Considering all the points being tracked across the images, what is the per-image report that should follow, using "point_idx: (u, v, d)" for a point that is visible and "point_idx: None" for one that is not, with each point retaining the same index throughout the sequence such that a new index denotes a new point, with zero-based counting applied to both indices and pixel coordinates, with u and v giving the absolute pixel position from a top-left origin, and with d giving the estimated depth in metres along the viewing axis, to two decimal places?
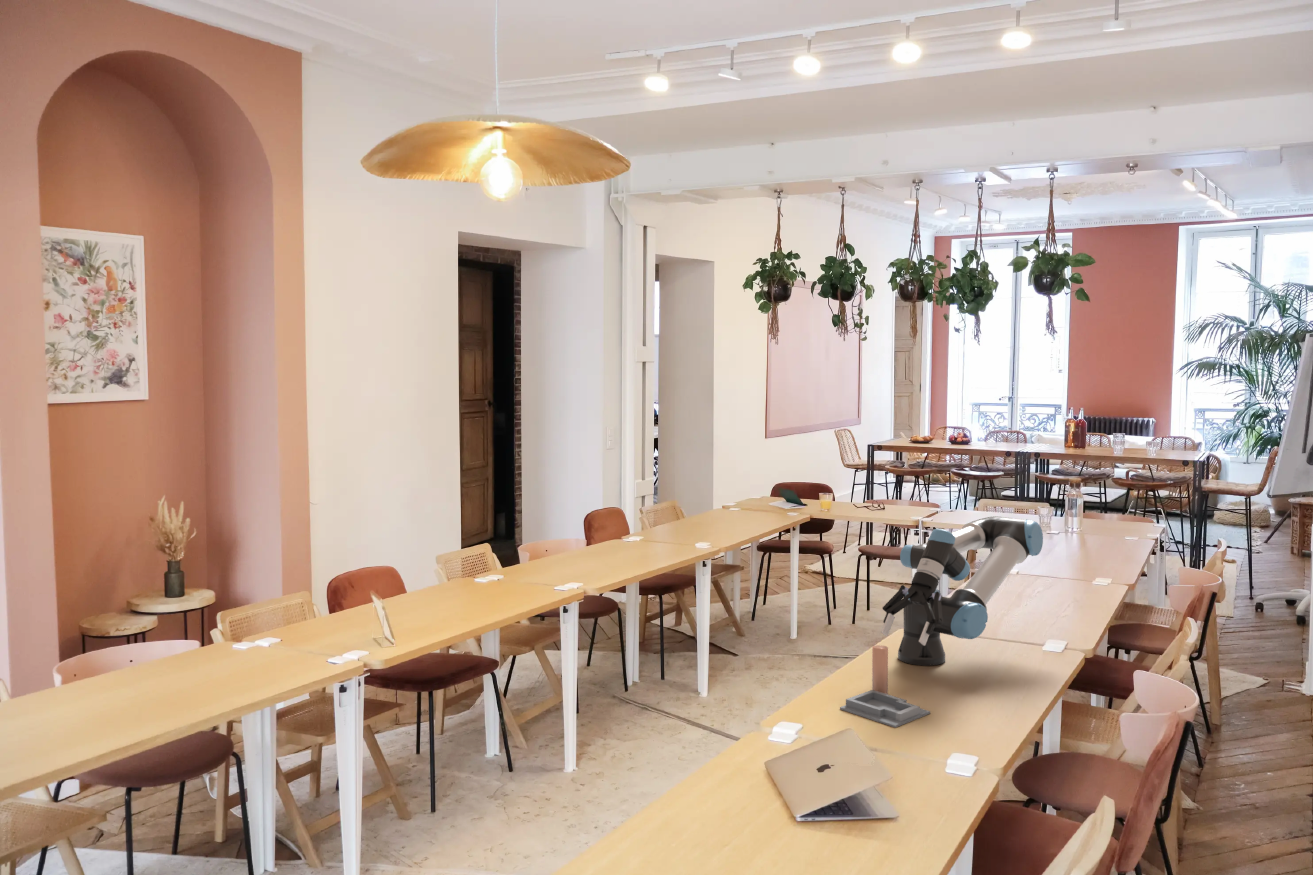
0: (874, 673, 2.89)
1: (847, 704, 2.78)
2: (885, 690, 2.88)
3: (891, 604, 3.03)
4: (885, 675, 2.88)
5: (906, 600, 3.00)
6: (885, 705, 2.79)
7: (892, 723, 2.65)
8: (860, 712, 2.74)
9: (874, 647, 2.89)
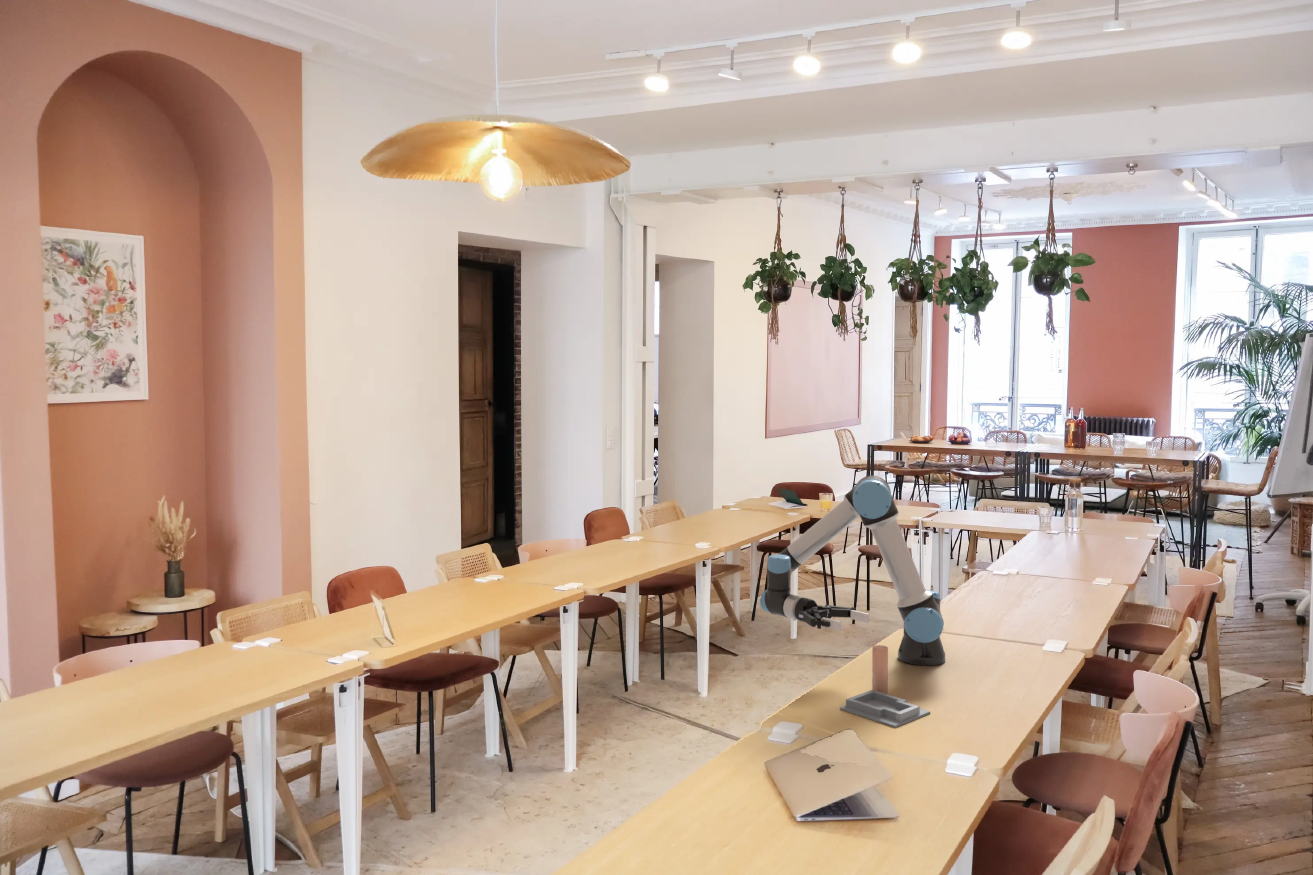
0: (874, 673, 2.89)
1: (847, 704, 2.78)
2: (885, 690, 2.88)
3: None
4: (885, 675, 2.88)
5: (830, 616, 3.07)
6: (885, 705, 2.79)
7: (892, 723, 2.65)
8: (860, 712, 2.74)
9: (874, 647, 2.89)
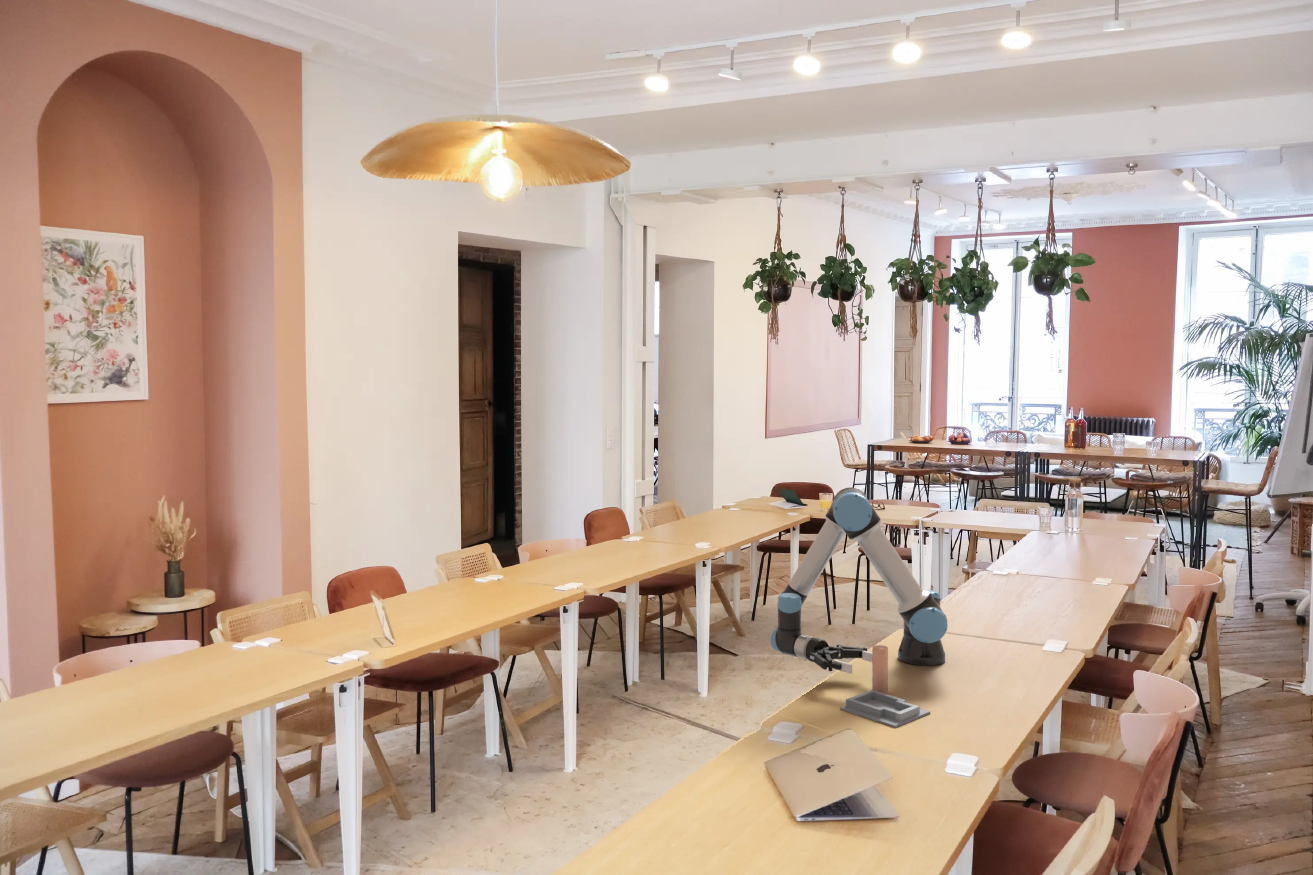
0: (874, 673, 2.89)
1: (847, 704, 2.78)
2: (885, 690, 2.88)
3: None
4: (885, 675, 2.88)
5: (841, 656, 3.04)
6: (885, 705, 2.79)
7: (892, 723, 2.65)
8: (860, 712, 2.74)
9: (874, 647, 2.89)
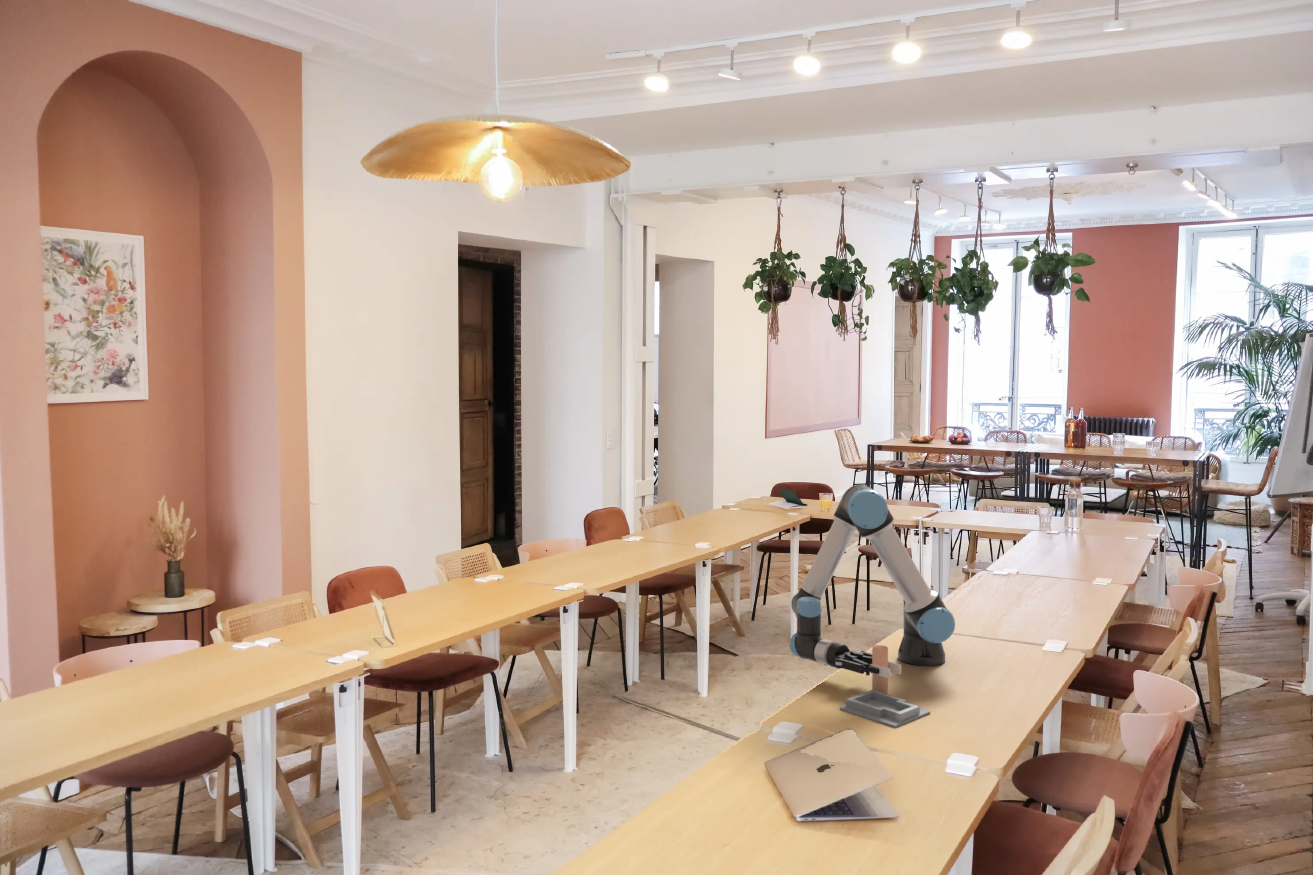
0: None
1: (847, 704, 2.78)
2: (885, 690, 2.88)
3: None
4: None
5: None
6: (885, 705, 2.79)
7: (892, 723, 2.65)
8: (860, 712, 2.74)
9: (874, 647, 2.89)
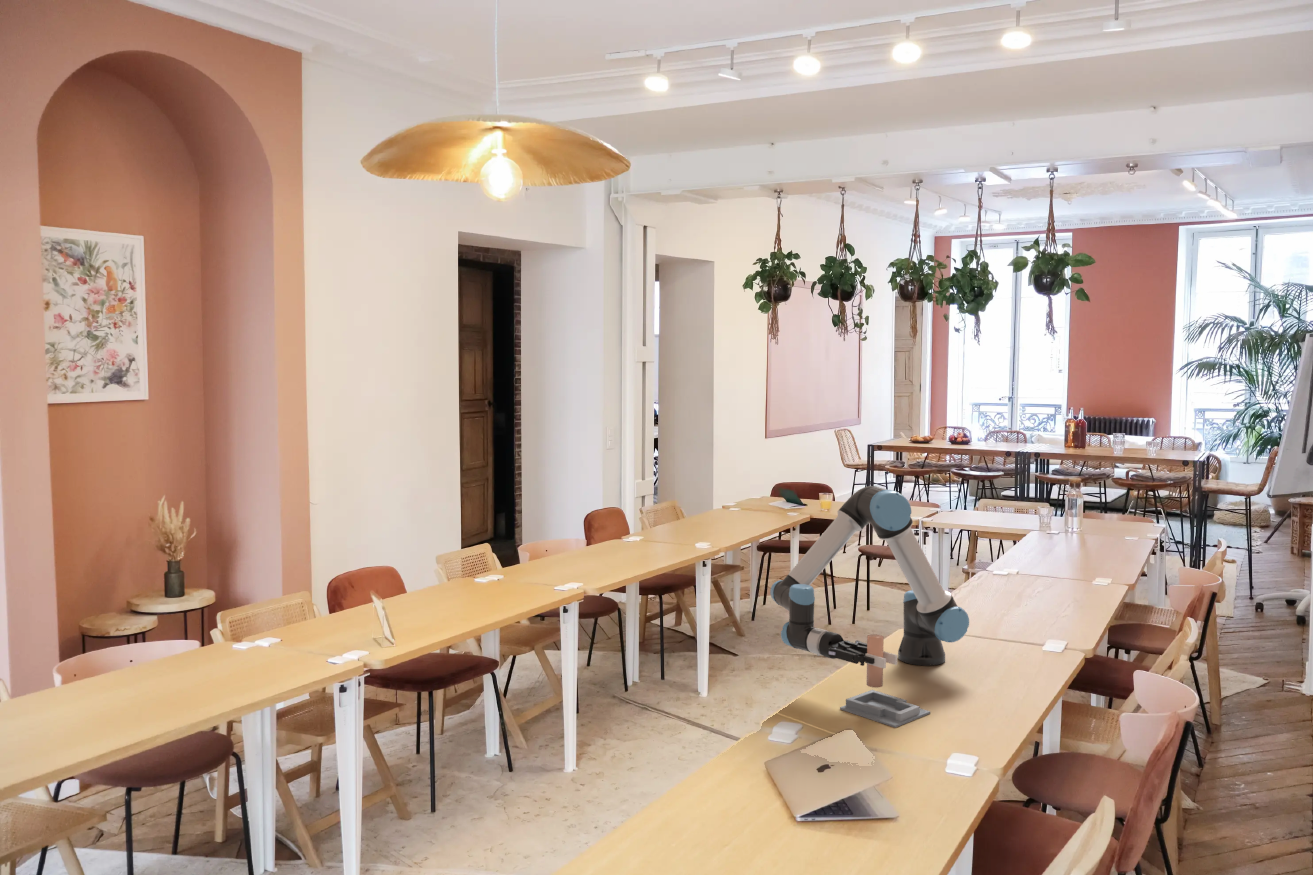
0: None
1: (847, 704, 2.78)
2: (880, 681, 2.75)
3: None
4: None
5: None
6: (885, 705, 2.79)
7: (892, 723, 2.65)
8: (860, 712, 2.74)
9: (869, 636, 2.76)
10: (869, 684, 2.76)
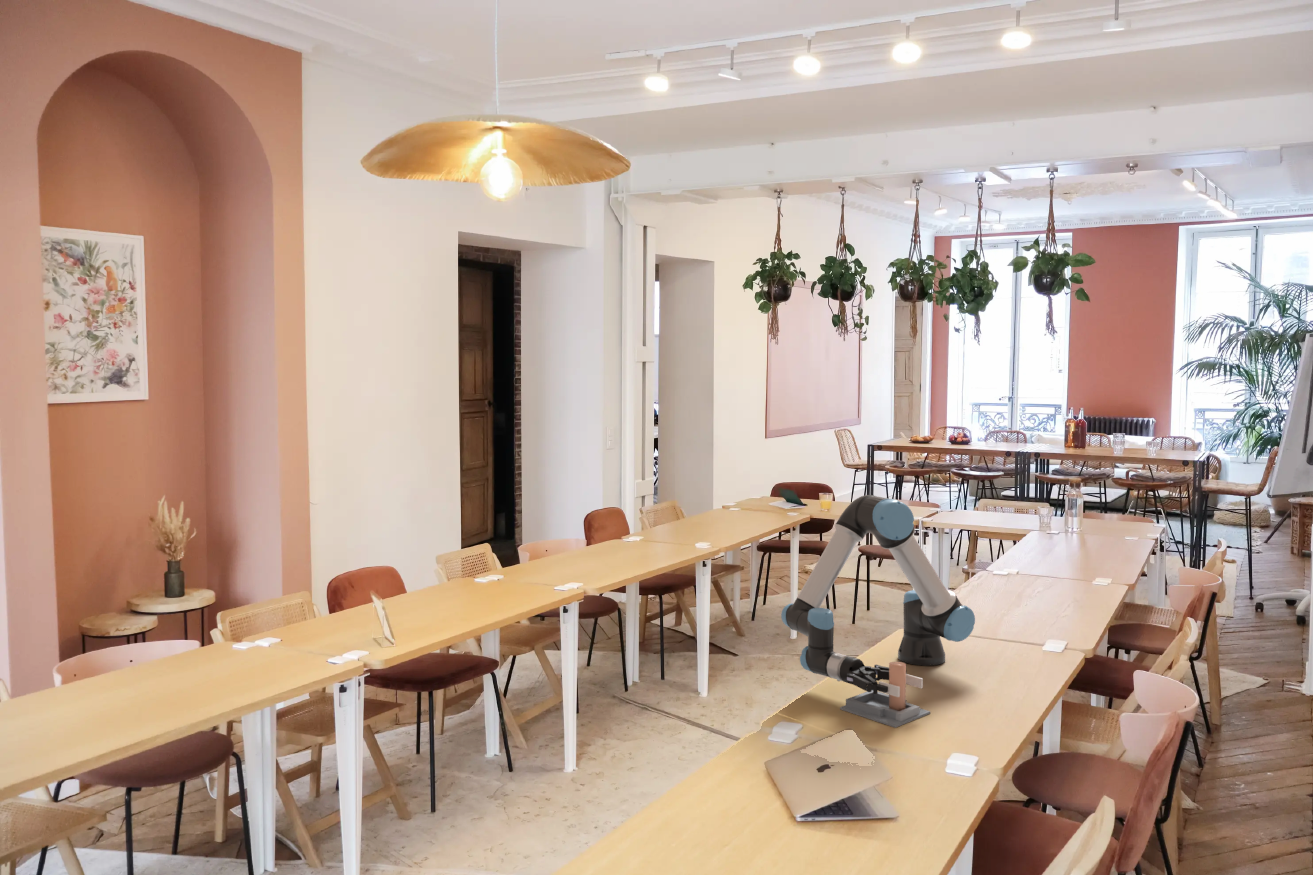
0: None
1: (847, 704, 2.78)
2: None
3: None
4: (903, 694, 2.70)
5: (878, 678, 2.80)
6: (885, 705, 2.79)
7: (892, 723, 2.65)
8: (860, 712, 2.74)
9: (891, 664, 2.71)
10: None
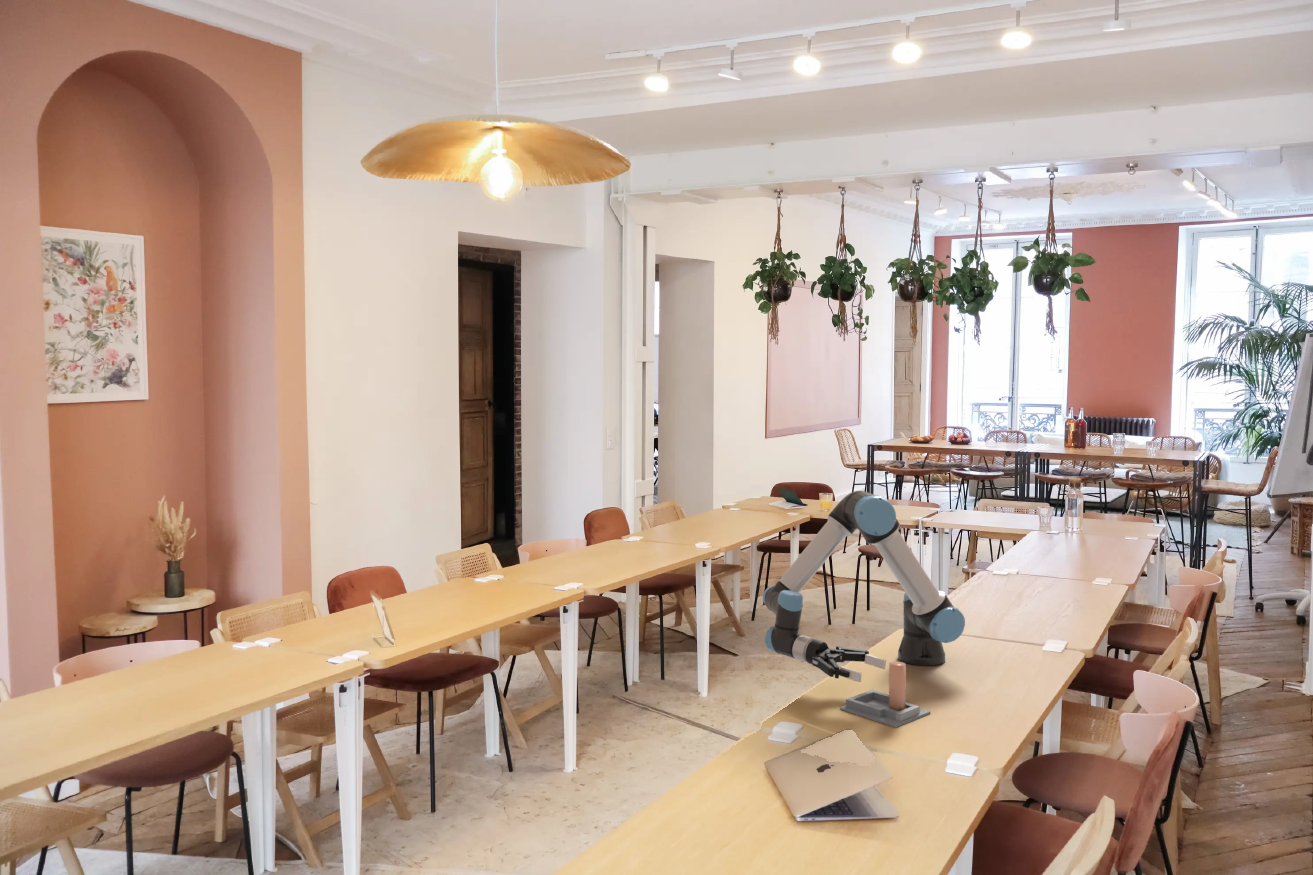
0: (891, 691, 2.71)
1: (847, 704, 2.78)
2: (903, 709, 2.71)
3: None
4: (903, 694, 2.70)
5: (843, 660, 2.91)
6: (885, 705, 2.79)
7: (892, 723, 2.65)
8: (860, 712, 2.74)
9: (891, 664, 2.71)
10: None
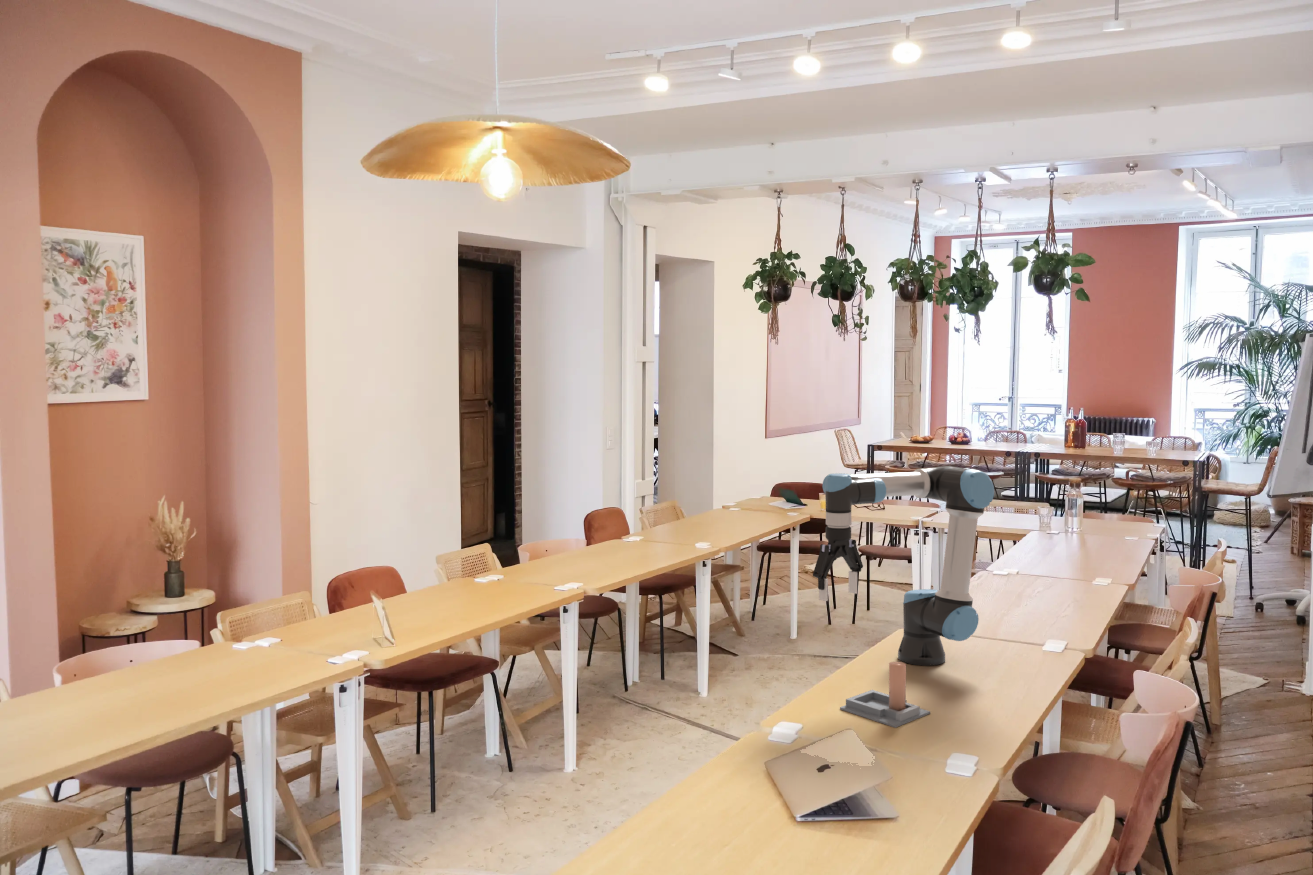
0: (891, 691, 2.71)
1: (847, 704, 2.78)
2: (903, 709, 2.71)
3: (853, 560, 2.96)
4: (903, 694, 2.70)
5: None
6: (885, 705, 2.79)
7: (892, 723, 2.65)
8: (860, 712, 2.74)
9: (891, 664, 2.71)
10: None
